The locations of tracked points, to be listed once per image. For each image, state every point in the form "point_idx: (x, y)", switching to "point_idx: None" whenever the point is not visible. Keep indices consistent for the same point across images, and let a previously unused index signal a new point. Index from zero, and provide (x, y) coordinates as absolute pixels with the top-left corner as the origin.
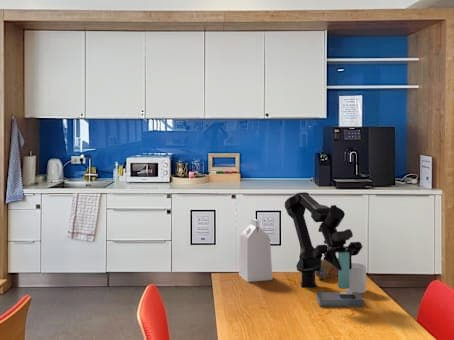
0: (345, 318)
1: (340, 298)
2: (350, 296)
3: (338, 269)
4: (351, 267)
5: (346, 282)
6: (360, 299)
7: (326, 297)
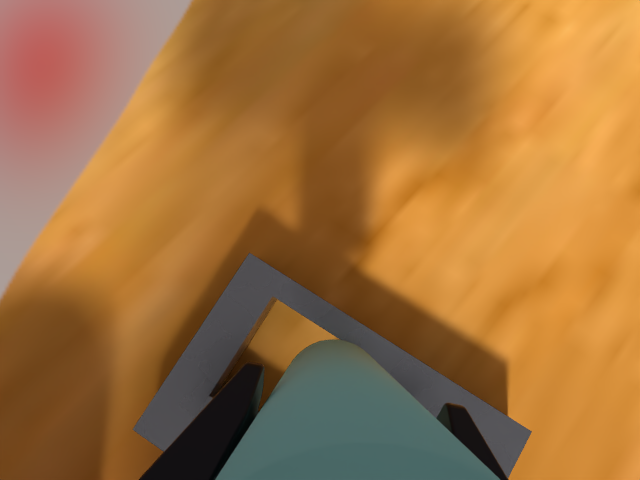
0: (507, 145)
1: None
2: None
3: None
4: (248, 365)
5: (347, 346)
6: (262, 270)
7: None
